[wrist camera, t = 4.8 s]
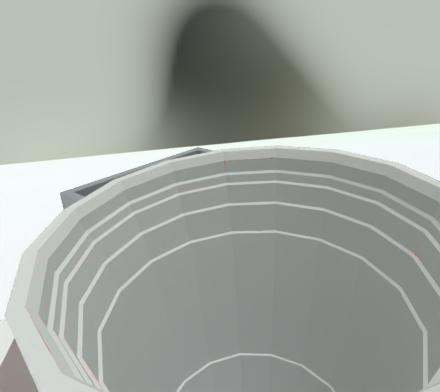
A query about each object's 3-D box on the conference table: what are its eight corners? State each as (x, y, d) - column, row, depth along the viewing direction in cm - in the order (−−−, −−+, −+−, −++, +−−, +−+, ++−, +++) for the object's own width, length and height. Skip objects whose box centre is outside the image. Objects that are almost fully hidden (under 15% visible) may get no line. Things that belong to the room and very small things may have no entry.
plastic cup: (39, 536, 13) (-93, 235, 8) (225, 343, 20) (214, 132, 16) (345, 1001, 6) (576, 873, 2) (447, 467, 14) (541, 177, 9)
